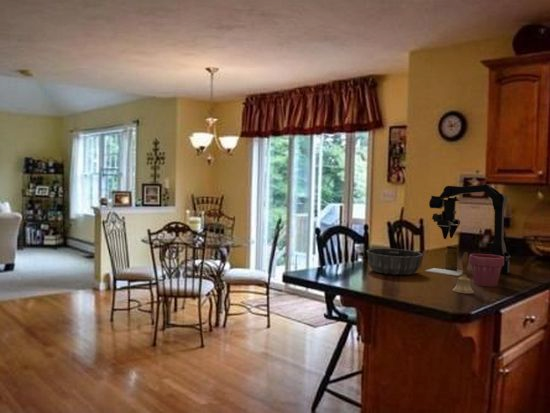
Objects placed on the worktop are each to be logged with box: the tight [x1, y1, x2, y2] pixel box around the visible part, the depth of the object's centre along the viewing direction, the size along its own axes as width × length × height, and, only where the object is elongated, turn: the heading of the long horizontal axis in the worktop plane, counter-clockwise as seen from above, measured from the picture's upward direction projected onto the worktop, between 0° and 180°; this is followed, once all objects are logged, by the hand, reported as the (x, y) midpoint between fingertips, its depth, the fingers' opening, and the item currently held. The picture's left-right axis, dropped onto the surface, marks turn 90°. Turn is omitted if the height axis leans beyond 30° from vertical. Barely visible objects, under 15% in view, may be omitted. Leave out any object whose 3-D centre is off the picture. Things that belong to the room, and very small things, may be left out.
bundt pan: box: [366, 247, 423, 276], centre depth 253 cm, size 26×26×10 cm
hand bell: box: [452, 251, 475, 295], centre depth 213 cm, size 8×8×16 cm
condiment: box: [444, 245, 463, 272], centre depth 266 cm, size 7×8×12 cm
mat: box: [424, 267, 463, 277], centre depth 258 cm, size 16×11×1 cm
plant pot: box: [468, 253, 504, 288], centre depth 230 cm, size 14×14×13 cm
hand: (448, 238), depth 281 cm, fingers open, 9 cm apart
